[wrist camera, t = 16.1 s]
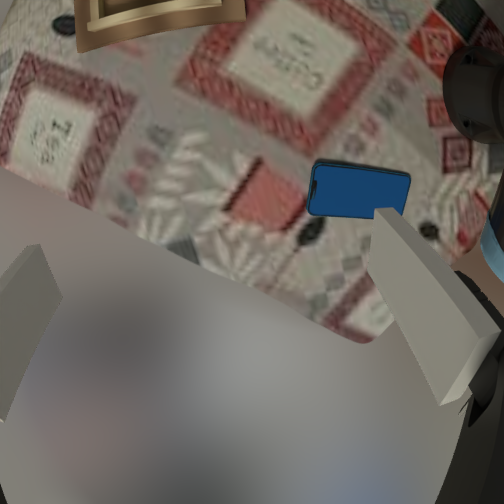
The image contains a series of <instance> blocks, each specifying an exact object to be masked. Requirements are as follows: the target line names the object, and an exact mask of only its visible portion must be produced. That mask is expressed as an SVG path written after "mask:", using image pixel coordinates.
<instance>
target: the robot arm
mask: <svg viewBox="0 0 504 504" xmlns="http://www.w3.org/2000/svg"><path fill="white" fill-rule="evenodd" d="M443 96H444V102H445V106H446V109H447V112H448V115H449V117H450V119H451V121H452V123H453V124H454V126H455V127H456V128H457V129H458V131H459V132H460V133H462V134H463V135H464V136H466V137H467V138H470V139H472V140H474V141H477V142H479V143H484V144H500V143H504V56H502V55H501V54H499V53H497V52H495V51H493V50H491V49H489V48H486V47H482V46H465V47H462V48H460V49H459V50H457V51H456V52H455V53H454V54H453V55H452V56H451V58H450V59H449V61H448V63H447V66H446V69H445V73H444V78H443ZM480 245H481V249H482V252H483V256H484V258H485V260H486V262H487V263H488V265H489V266H490V268H491V269H492V270H493V272H494V273H495V274H496V275H497V276H498V278H500V280H501V281H502V282H503V283H504V169H503V173H502V176H501V179H500V182H499V185H498V188H497V191H496V194H495V197H494V200H493V203H492V205H491V208H490V209H489V211H488V213H487V220H486V223H485V226H484V229H483V232H482V235H481V241H480ZM367 271H368V273H369V275H370V276H371V278H372V280H373V281H374V283H375V285H376V286H377V288H378V290H379V292H380V293H381V295H382V297H383V298H384V300H385V302H386V304H387V305H388V307H389V309H390V311H391V313H392V314H393V316H394V318H395V320H396V322H397V323H398V325H399V327H400V329H401V331H402V333H403V335H404V336H405V338H406V340H407V342H408V344H409V346H410V348H411V350H412V352H413V353H414V355H415V357H416V359H417V361H418V363H419V365H420V367H421V369H422V371H423V373H424V375H425V377H426V379H427V381H428V384H429V386H430V388H431V390H432V392H433V394H434V396H435V398H436V400H437V402H438V405H439V406H440V405H443V404H446V403H448V402H451V401H454V400H456V399H459V398H460V397H461V396H462V394H463V393H464V391H465V389H466V388H467V387H468V386H469V388H470V390H471V391H472V393H473V394H472V395H471V397H470V398H469V399H468V401H467V402H466V404H465V405H464V406H463V407H462V409H461V410H460V412H459V414H458V415H459V416H462V414H463V413H464V412H465V411H466V414H465V418H464V422H463V425H462V429H461V432H460V436H459V439H458V443H457V446H456V449H455V452H454V455H453V458H452V461H451V464H450V467H449V469H448V472H447V475H446V477H445V480H444V483H443V485H442V488H441V490H440V493H439V495H438V498H437V500H436V502H435V504H504V318H503V316H502V315H501V314H500V313H499V311H498V310H497V309H496V308H495V306H494V305H493V304H492V303H491V302H490V301H488V298H487V297H486V296H485V294H484V293H483V292H481V291H480V288H479V287H478V286H477V285H476V284H475V283H474V281H473V280H472V279H471V278H469V277H468V276H466V275H465V274H463V273H461V272H460V271H453V270H452V269H451V268H450V267H449V266H448V264H447V263H446V262H445V261H444V260H443V259H442V258H441V257H440V256H439V254H438V253H437V252H436V251H435V250H434V249H433V248H432V247H431V246H430V245H429V244H428V243H427V241H426V240H425V239H424V238H423V237H422V236H421V235H420V234H419V233H418V232H417V231H416V230H415V229H414V228H413V227H412V226H411V225H410V224H409V223H408V222H407V221H406V220H405V219H404V218H403V217H402V216H401V215H400V214H399V213H398V212H397V211H396V210H395V209H394V208H393V207H390V208H375V211H374V221H373V229H372V238H371V246H370V253H369V260H368V267H367ZM62 298H63V296H62V294H61V292H60V290H59V288H58V286H57V283H56V281H55V279H54V277H53V274H52V272H51V270H50V268H49V265H48V263H47V261H46V258H45V256H44V253H43V251H42V248H41V246H40V244H37V245H31V246H27V247H26V248H25V249H24V250H23V251H22V253H21V254H20V255H19V256H18V257H17V258H16V259H15V261H14V262H13V263H12V264H11V265H10V267H9V268H8V269H7V270H6V271H5V273H4V274H3V275H2V277H1V278H0V421H1V422H5V420H6V417H7V414H8V412H9V409H10V407H11V404H12V402H13V399H14V397H15V394H16V392H17V389H18V387H19V385H20V382H21V380H22V378H23V376H24V373H25V371H26V369H27V367H28V365H29V362H30V360H31V358H32V356H33V354H34V352H35V350H36V348H37V346H38V344H39V342H40V340H41V338H42V336H43V334H44V332H45V330H46V328H47V326H48V324H49V322H50V320H51V318H52V317H53V315H54V313H55V311H56V309H57V307H58V306H59V304H60V302H61V300H62ZM466 409H467V410H466ZM0 504H7V501H6V499H5V496H4V494H3V490H2V487H1V484H0Z"/></svg>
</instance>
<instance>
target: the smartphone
mask: <svg viewBox="0 0 504 504" xmlns="http://www.w3.org/2000/svg"><path fill="white" fill-rule="evenodd" d="M410 184H411V178H410V176H409V175H407V174H403V173H397V172H391V171H384V170H378V169H371V168H364V167H356V166H350V165H341V164H332V163H323V162H318V163H316V164H315V165H314V166H313V167H312V172H311V179H310V186H309V192H308V199H307V205H306V209H307V211H308V213H309V214H310V215H313V216H329V217H346V218H361V219H374V211H375V208H390V207H393V208H394V209H395V210H396V211H397V212H398V213H399V214H400V215H401V216H402V214H403V211H404V207H405V203H406V200H407V196H408V192H409V188H410Z"/></svg>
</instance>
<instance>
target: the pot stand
mask: <svg viewBox="0 0 504 504" xmlns="http://www.w3.org/2000/svg"><path fill="white" fill-rule="evenodd" d="M74 11H75V29H76V42H77V53H84V52H87V51H90V50H93V49H97V48H100V47H103V46H107V45H110V44H114V43H117V42H121V41H125V40H129V39H133V38H137V37H141V36H146V35H150V34H155V33H160V32H165V31H171V30H176V29H183V28H189V27H196V26H203V25H211V24H221V23H231V22H245V21H246V13H245V2H244V0H74Z"/></svg>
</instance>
